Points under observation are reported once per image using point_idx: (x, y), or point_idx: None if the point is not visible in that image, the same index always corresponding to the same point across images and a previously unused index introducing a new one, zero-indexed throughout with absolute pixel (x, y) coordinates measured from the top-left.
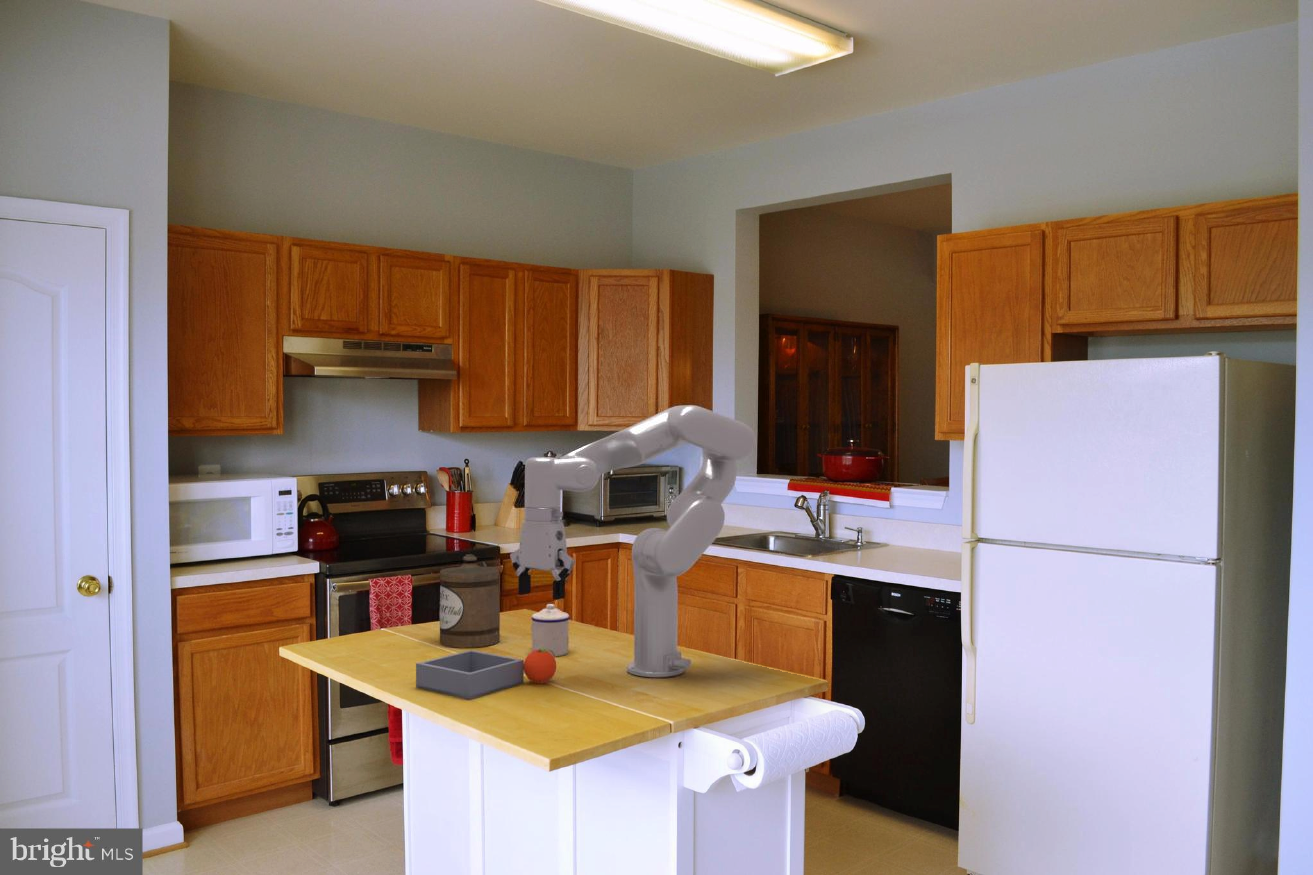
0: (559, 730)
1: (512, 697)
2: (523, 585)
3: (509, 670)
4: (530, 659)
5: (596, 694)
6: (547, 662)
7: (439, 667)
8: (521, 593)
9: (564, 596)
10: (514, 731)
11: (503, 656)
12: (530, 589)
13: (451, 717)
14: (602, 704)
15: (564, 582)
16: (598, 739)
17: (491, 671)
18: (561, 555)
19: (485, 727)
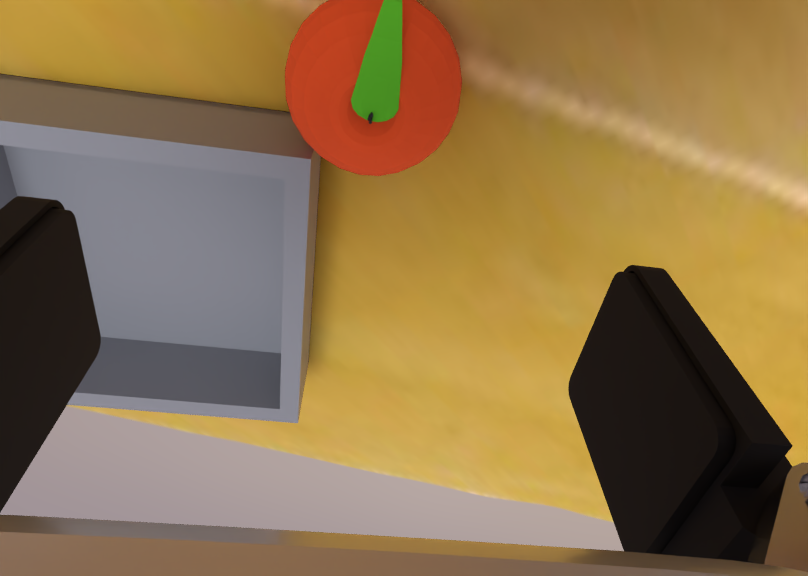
0: None
1: (411, 288)
2: (44, 391)
3: (310, 234)
4: (361, 173)
5: (700, 115)
6: (446, 134)
7: (127, 404)
8: (97, 349)
9: (661, 275)
10: (585, 480)
11: (168, 149)
12: (49, 227)
13: (384, 471)
14: (756, 221)
15: (776, 467)
16: (801, 451)
17: (303, 332)
18: None
19: (506, 486)
